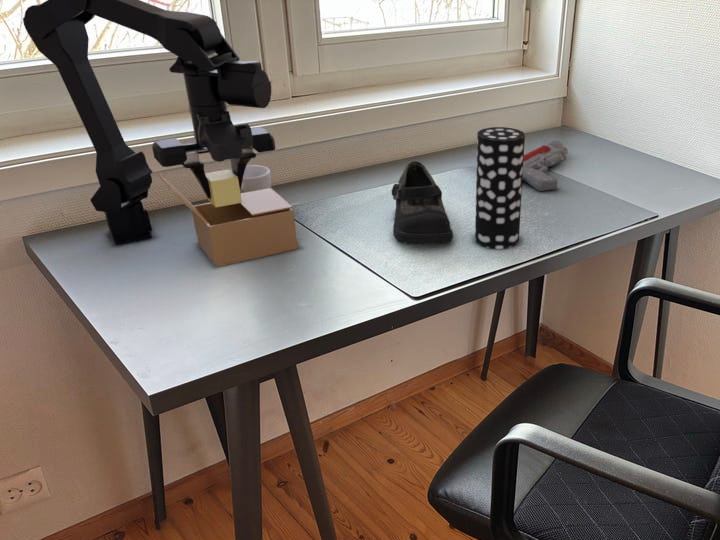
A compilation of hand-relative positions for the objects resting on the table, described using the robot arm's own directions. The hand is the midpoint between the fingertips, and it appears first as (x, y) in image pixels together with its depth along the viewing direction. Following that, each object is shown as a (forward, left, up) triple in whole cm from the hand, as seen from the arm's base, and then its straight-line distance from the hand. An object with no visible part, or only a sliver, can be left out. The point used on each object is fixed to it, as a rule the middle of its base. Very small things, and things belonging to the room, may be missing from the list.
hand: (223, 195), depth 127 cm
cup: (+9, +16, -10) cm, 21 cm away
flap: (-7, 0, +1) cm, 7 cm away
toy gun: (+76, +6, -10) cm, 77 cm away
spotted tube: (+44, -20, -10) cm, 49 cm away
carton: (+3, 0, -10) cm, 11 cm away
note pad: (0, 0, -1) cm, 1 cm away
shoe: (+34, -8, -10) cm, 36 cm away
